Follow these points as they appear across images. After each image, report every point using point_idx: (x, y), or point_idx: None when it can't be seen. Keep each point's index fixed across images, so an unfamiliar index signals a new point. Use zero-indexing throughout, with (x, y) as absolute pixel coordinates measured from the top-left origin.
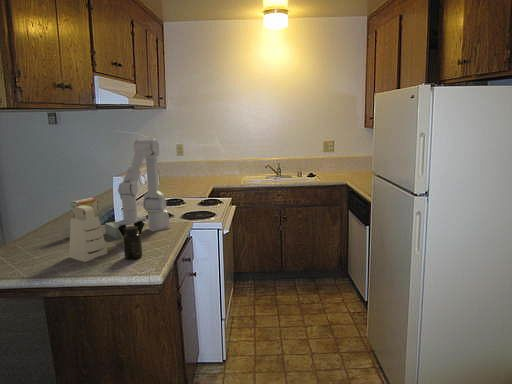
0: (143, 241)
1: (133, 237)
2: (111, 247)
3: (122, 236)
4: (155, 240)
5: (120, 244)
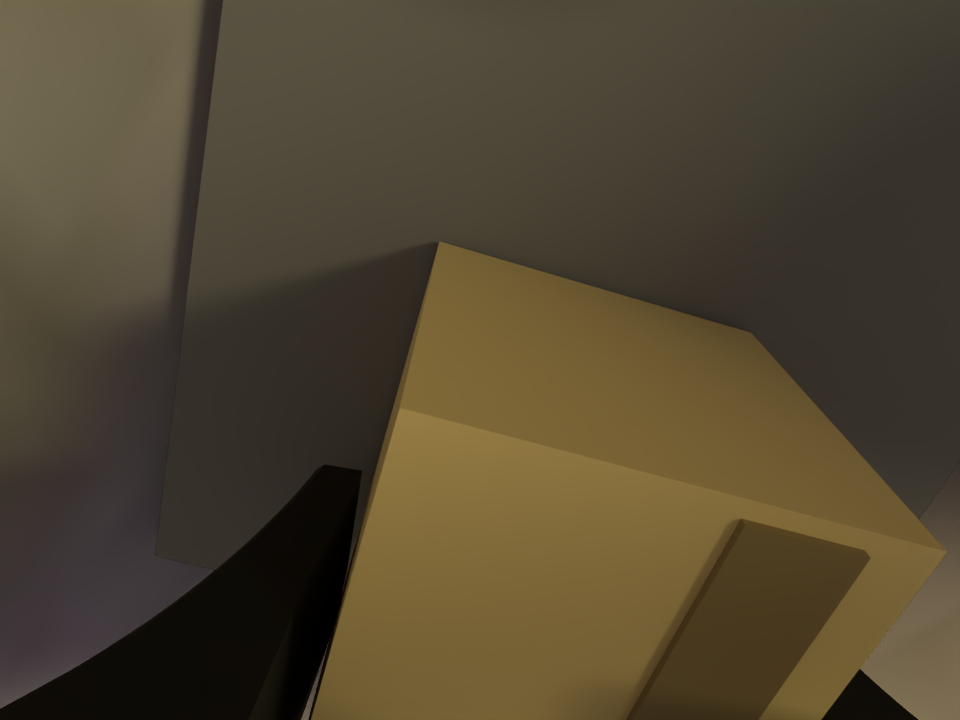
0: None
1: None
2: (7, 297)
3: (421, 313)
4: None
5: (240, 383)
